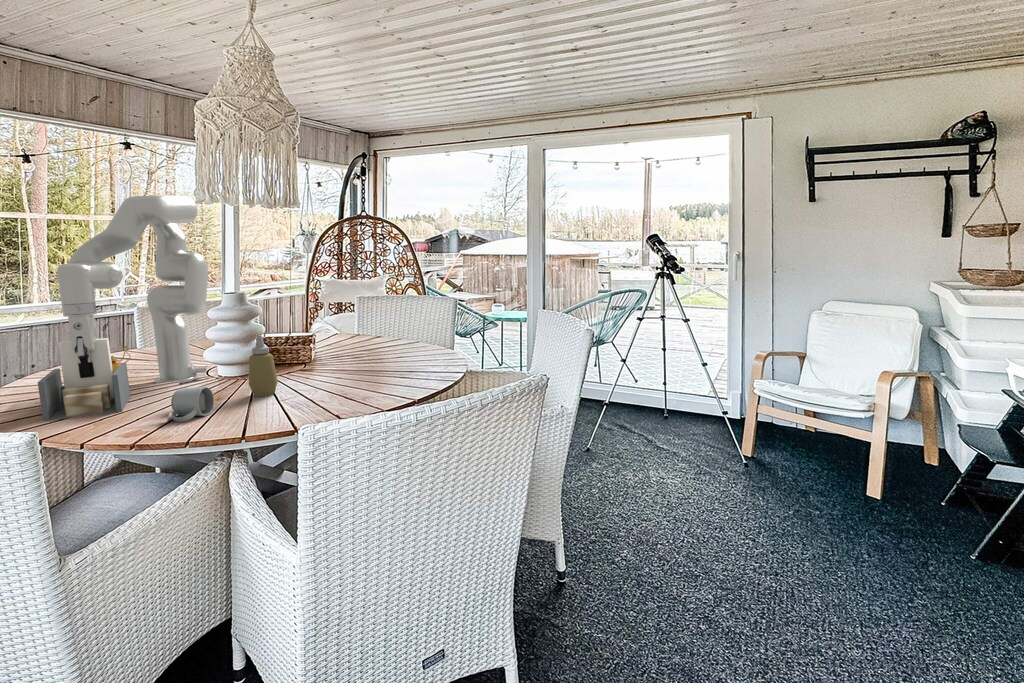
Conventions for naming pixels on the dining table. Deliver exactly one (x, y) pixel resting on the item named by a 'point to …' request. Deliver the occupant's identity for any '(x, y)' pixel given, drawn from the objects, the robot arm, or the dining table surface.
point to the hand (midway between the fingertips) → (88, 375)
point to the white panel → (98, 357)
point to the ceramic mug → (191, 403)
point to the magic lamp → (115, 362)
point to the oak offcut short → (84, 403)
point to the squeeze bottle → (262, 370)
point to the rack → (53, 388)
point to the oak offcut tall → (90, 389)
